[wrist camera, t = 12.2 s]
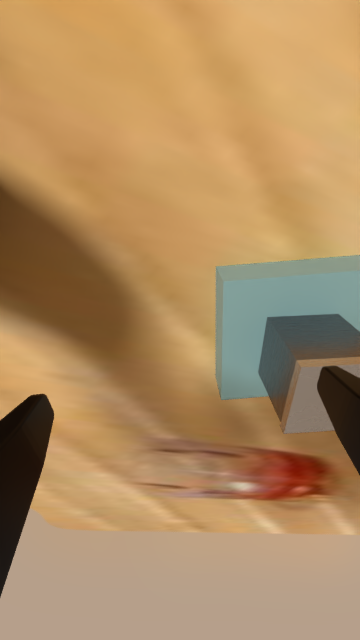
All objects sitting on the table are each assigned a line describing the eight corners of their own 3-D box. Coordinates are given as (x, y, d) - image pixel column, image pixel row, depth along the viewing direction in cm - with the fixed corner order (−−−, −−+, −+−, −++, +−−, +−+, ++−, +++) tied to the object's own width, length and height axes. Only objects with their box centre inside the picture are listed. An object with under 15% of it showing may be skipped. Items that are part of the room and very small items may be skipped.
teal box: (214, 372, 26) (221, 400, 23) (214, 264, 20) (223, 281, 17) (325, 363, 26) (346, 389, 23) (356, 253, 21) (389, 268, 18)
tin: (256, 373, 22) (283, 433, 17) (265, 315, 19) (301, 367, 14) (321, 370, 22) (367, 428, 17) (340, 312, 19) (400, 361, 14)
